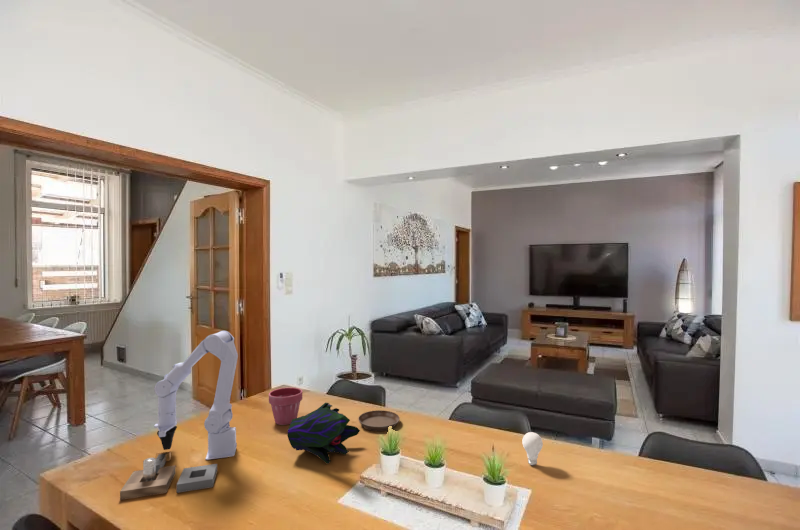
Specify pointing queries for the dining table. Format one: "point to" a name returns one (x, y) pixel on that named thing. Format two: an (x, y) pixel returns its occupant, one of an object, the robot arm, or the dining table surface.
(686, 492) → the dining table surface
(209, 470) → the block
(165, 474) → the socket block
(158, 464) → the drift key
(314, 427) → the decorative plant
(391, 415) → the plant saucer
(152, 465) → the peg
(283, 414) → the plant pot
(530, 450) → the light bulb
